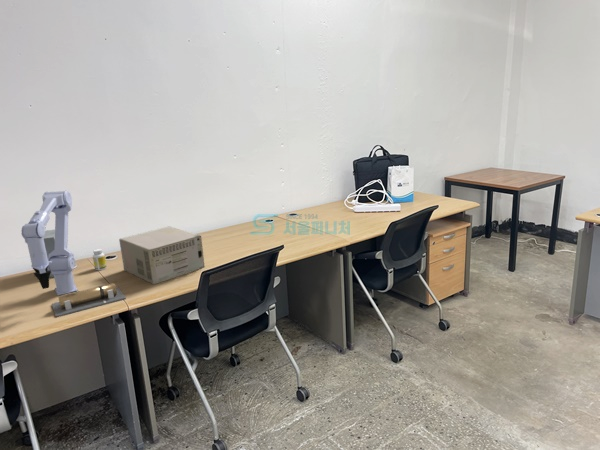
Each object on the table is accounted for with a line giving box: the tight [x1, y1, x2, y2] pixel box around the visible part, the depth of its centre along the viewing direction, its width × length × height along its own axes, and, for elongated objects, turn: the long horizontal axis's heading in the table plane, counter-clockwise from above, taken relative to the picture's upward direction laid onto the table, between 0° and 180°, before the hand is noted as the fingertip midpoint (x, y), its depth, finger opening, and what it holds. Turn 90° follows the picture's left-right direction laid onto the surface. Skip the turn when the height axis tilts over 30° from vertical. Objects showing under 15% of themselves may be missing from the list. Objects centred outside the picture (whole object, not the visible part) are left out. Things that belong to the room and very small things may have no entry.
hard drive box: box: [43, 229, 55, 279], centre depth 218 cm, size 16×8×20 cm, turn 21°
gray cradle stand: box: [51, 286, 127, 318], centre depth 184 cm, size 14×26×4 cm, turn 124°
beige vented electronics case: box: [118, 225, 205, 285], centre depth 216 cm, size 27×29×16 cm
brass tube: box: [57, 282, 117, 309], centre depth 183 cm, size 5×21×5 cm, turn 124°
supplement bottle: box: [92, 248, 108, 271], centre depth 221 cm, size 5×5×10 cm
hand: (44, 285), depth 179 cm, fingers open, 7 cm apart
